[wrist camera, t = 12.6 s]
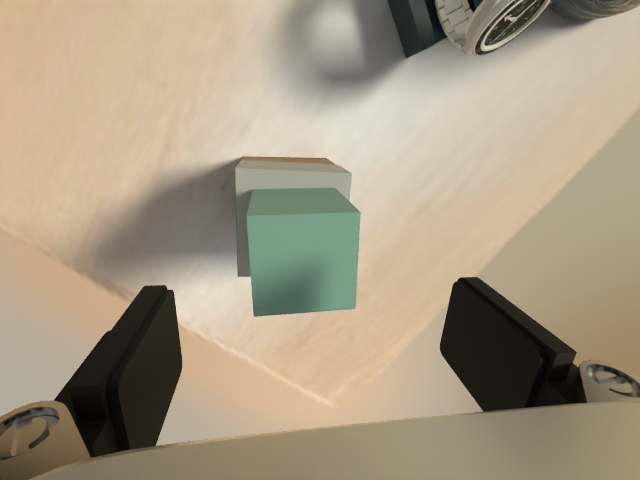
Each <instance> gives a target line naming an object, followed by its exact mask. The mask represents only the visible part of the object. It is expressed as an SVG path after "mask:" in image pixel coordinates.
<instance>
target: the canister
mask: <svg viewBox="0 0 640 480" xmlns="http://www.w3.org/2000/svg"><path fill="white" fill-rule="evenodd" d="M549 6H550V7H551V8H553V9H554V10H555V11H557V12H558V13H560V14H562V15H564V16H566V17H569V18H573V19H591V18H595V19H597V18H605V17H610V16H614V15H617V14H620V13H624V12H627V11H629V10H632V9H634V8H636V7H638V6H640V0H553V1H552V3H551V4H550V5H549Z"/></svg>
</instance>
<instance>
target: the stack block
mask: <svg viewBox="0 0 640 480" xmlns="http://www.w3.org/2000/svg"><path fill="white" fill-rule="evenodd" d="M247 230H248V243H249V257H250V271H251V284H252V298H253V312H254V316H267V315H281V314H294V313H307V312H321V311H334V310H348V309H355V306H356V287H357V268H358V249H359V230H360V211H359V210H358V209H357V208H356V207H355V206H353V205H352V204H351V203H350V202H349V201H348V200H347V199H346V198H345V197H344V196H343V195H342V194H341V193H340V192H339V191H338V190H337V189H336V188H335V187H334V188H285V189H253V192H252V196H251V200H250V204H249V208H248V212H247Z"/></svg>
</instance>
